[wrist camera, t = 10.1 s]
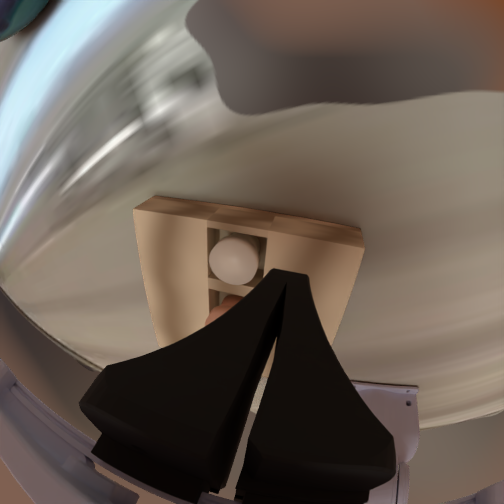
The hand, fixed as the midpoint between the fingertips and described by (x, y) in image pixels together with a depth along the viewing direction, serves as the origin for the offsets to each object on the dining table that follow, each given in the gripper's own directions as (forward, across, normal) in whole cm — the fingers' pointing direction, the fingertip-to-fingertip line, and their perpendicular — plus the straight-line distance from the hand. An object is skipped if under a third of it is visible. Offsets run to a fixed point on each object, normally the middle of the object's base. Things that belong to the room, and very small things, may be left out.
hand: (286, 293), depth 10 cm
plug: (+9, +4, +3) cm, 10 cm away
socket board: (+10, +4, +8) cm, 14 cm away
